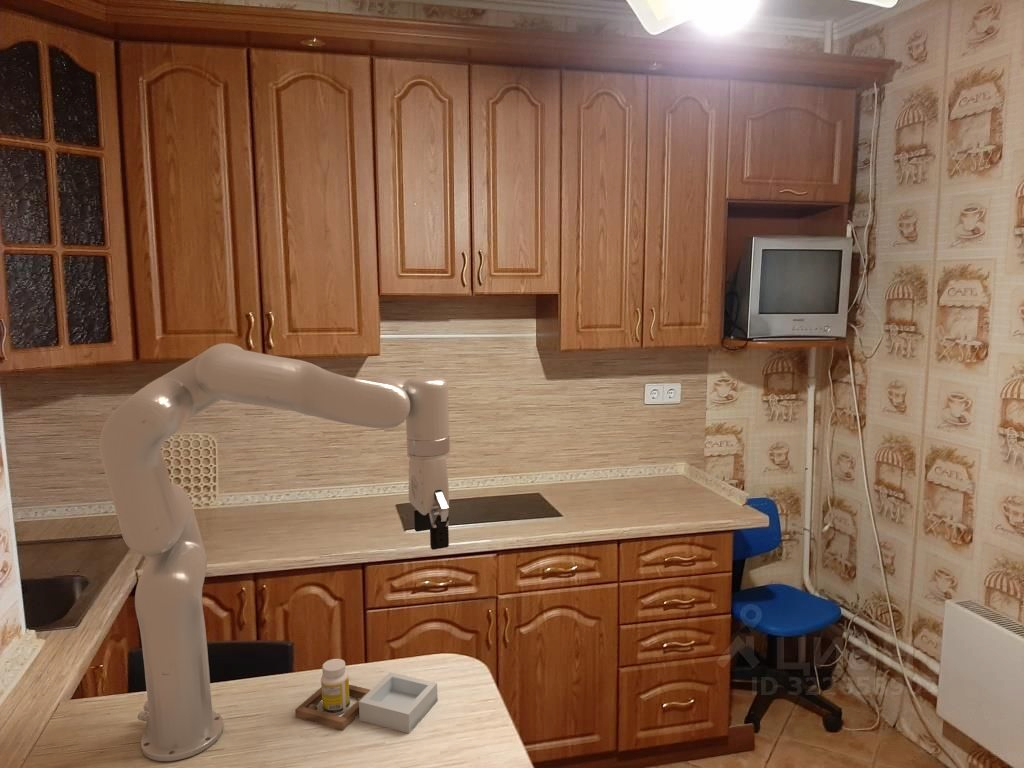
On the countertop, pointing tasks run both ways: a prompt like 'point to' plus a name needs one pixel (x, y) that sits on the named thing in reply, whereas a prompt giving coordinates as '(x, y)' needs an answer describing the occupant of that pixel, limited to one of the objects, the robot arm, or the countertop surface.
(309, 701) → the tray
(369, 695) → the grey square open box
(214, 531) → the countertop surface
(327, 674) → the supplement bottle
